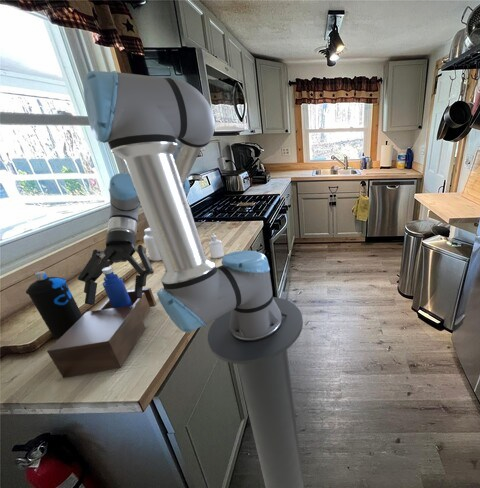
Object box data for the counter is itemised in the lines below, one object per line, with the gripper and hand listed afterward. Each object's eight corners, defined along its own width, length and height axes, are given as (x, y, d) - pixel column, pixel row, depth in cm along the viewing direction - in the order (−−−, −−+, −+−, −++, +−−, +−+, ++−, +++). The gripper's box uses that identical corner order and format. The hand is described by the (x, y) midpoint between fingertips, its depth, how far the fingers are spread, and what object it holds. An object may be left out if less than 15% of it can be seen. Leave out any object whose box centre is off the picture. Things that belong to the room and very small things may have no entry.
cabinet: (98, 335, 77) (86, 311, 73) (145, 328, 79) (136, 304, 75) (63, 378, 63) (46, 351, 60) (121, 367, 66) (108, 341, 62)
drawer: (124, 302, 90) (117, 285, 88) (160, 297, 92) (155, 280, 90) (94, 338, 74) (84, 319, 72) (139, 331, 76) (131, 312, 74)
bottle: (138, 311, 84) (120, 264, 77) (132, 320, 79) (111, 271, 73) (122, 313, 83) (102, 266, 76) (115, 322, 79) (93, 273, 72)
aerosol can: (45, 342, 75) (9, 283, 67) (60, 324, 82) (29, 269, 74) (80, 333, 78) (50, 276, 70) (91, 317, 85) (65, 263, 77)
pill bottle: (156, 262, 121) (146, 232, 115) (147, 259, 124) (136, 230, 118) (172, 256, 127) (164, 227, 121) (163, 252, 131) (154, 224, 125)
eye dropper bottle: (221, 258, 122) (216, 235, 117) (210, 258, 123) (204, 235, 118) (225, 254, 126) (220, 231, 121) (215, 254, 127) (209, 231, 122)
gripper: (167, 234, 89) (164, 296, 81) (87, 242, 85) (76, 309, 77) (157, 225, 82) (152, 291, 74) (69, 233, 78) (55, 305, 70)
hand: (114, 300), depth 76 cm, fingers open, 12 cm apart
